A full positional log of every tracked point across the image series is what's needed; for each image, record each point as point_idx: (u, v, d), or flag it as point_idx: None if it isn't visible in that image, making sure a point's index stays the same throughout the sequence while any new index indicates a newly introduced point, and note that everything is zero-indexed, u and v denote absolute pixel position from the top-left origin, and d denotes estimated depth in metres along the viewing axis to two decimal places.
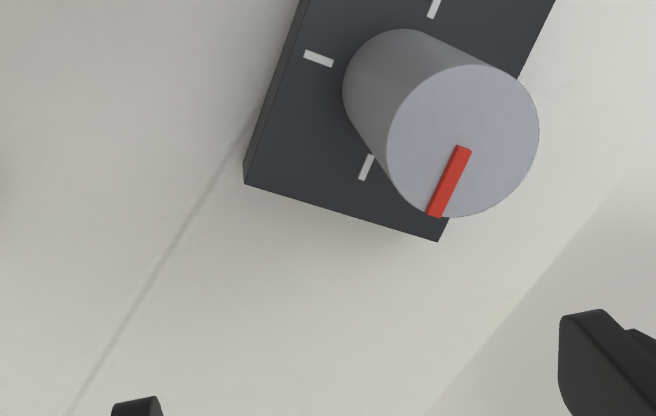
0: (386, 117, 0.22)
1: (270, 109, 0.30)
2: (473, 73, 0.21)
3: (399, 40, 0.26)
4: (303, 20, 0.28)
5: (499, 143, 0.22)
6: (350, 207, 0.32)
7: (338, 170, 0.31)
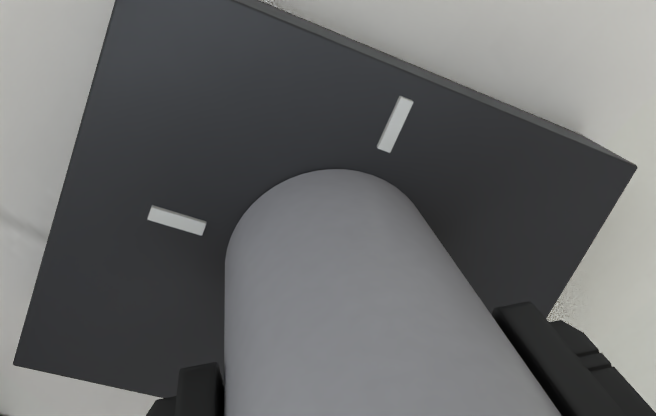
0: None
1: None
2: None
3: None
4: None
5: None
6: None
7: None
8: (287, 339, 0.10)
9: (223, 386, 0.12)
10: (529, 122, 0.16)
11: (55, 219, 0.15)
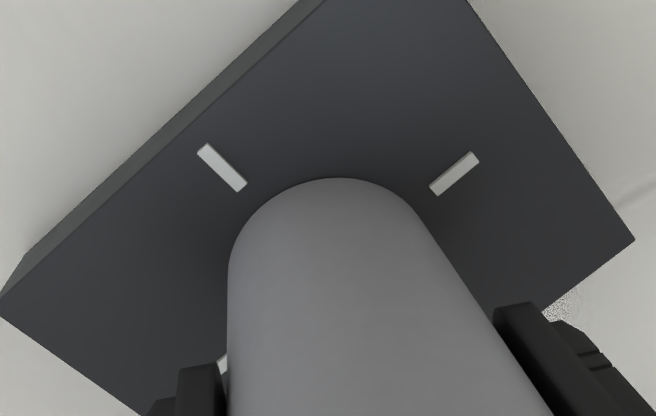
0: None
1: None
2: None
3: None
4: None
5: None
6: (522, 110, 0.16)
7: (498, 188, 0.17)
8: (298, 344, 0.10)
9: (223, 386, 0.12)
10: (289, 32, 0.14)
11: None
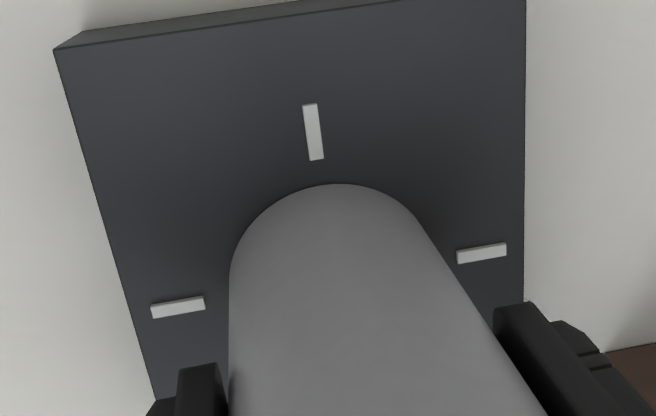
0: None
1: (523, 140, 0.16)
2: None
3: None
4: (522, 284, 0.18)
5: None
6: (295, 35, 0.14)
7: (359, 97, 0.15)
8: (308, 346, 0.10)
9: (222, 386, 0.12)
10: (96, 197, 0.15)
11: None
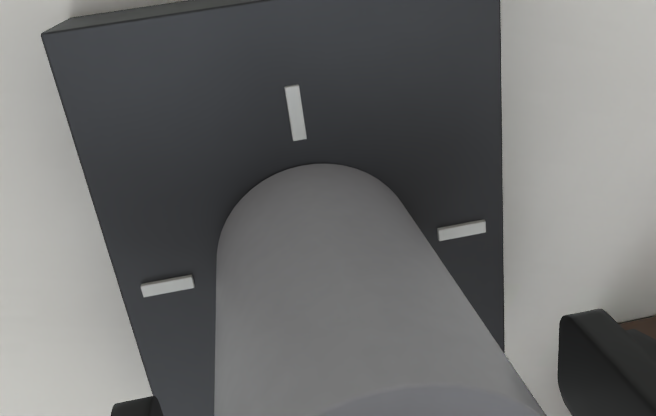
0: None
1: (500, 119, 0.17)
2: None
3: None
4: (502, 261, 0.19)
5: None
6: (276, 18, 0.15)
7: (340, 78, 0.16)
8: (288, 310, 0.11)
9: None
10: (86, 179, 0.16)
11: None
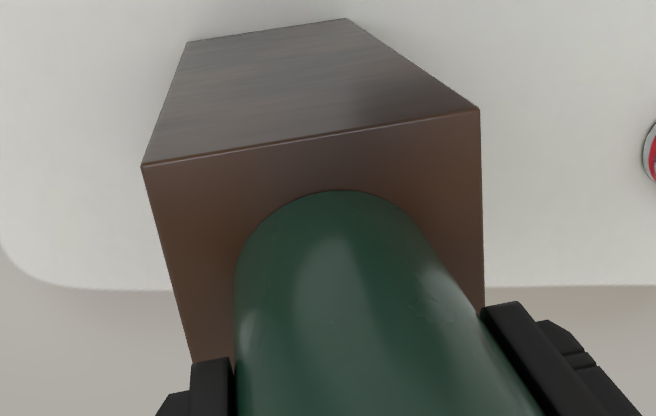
0: None
1: None
2: None
3: None
4: None
5: None
6: None
7: None
8: None
9: None
10: None
11: None
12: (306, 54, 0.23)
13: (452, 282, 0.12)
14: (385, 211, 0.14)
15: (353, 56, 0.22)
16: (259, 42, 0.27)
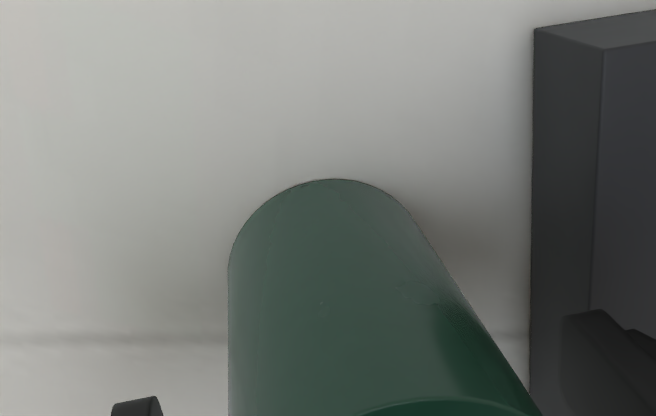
0: None
1: None
2: None
3: None
4: None
5: None
6: None
7: None
8: None
9: None
10: None
11: None
12: None
13: (441, 267, 0.13)
14: (377, 200, 0.15)
15: None
16: None
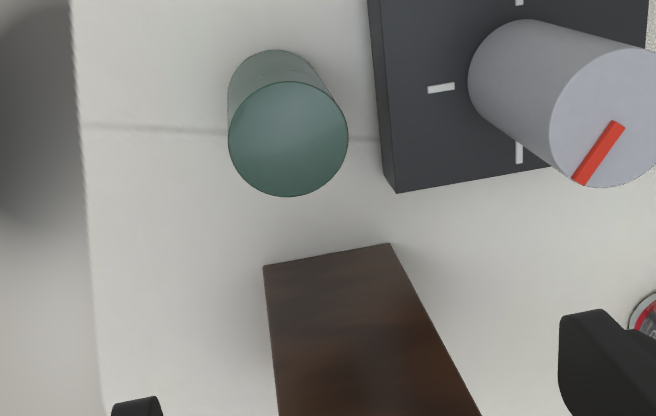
0: (552, 87, 0.24)
1: None
2: (641, 56, 0.23)
3: (542, 27, 0.29)
4: (495, 175, 0.35)
5: (647, 124, 0.24)
6: None
7: None
8: None
9: None
10: None
11: (389, 113, 0.32)
12: (369, 324, 0.31)
13: (316, 75, 0.30)
14: (294, 56, 0.32)
15: (407, 339, 0.30)
16: (325, 284, 0.35)
